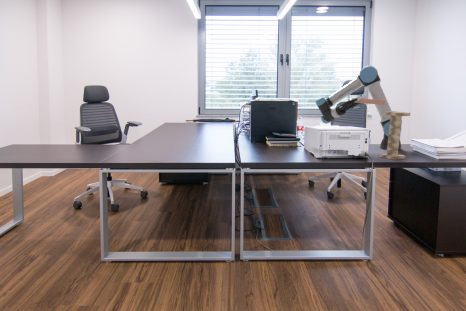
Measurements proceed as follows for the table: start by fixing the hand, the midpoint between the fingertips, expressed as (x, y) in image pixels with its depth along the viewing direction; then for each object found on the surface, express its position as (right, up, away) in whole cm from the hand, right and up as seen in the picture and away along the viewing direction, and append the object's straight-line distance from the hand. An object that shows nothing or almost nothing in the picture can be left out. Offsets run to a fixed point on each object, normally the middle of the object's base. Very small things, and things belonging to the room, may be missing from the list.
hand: (363, 97), depth 292 cm
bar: (+2, -5, -3) cm, 6 cm away
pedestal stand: (+14, -42, -14) cm, 47 cm away
